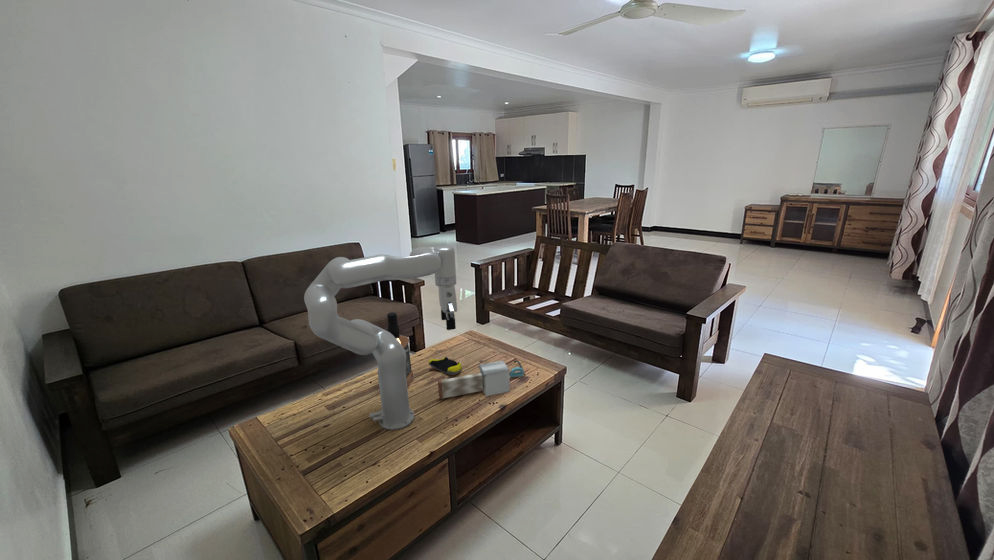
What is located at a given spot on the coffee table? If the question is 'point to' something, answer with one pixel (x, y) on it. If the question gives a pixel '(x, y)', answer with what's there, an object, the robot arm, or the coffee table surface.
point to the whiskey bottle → (403, 340)
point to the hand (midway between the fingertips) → (448, 324)
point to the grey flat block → (460, 385)
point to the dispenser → (495, 378)
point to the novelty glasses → (517, 370)
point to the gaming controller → (446, 365)
